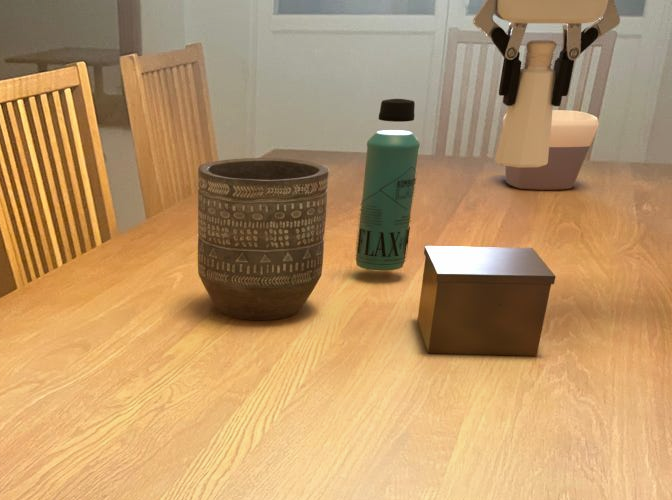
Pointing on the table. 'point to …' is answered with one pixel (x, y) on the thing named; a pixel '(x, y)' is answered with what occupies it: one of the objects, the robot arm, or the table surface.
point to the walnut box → (483, 300)
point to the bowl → (558, 153)
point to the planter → (261, 234)
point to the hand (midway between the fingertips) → (531, 102)
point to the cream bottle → (530, 111)
